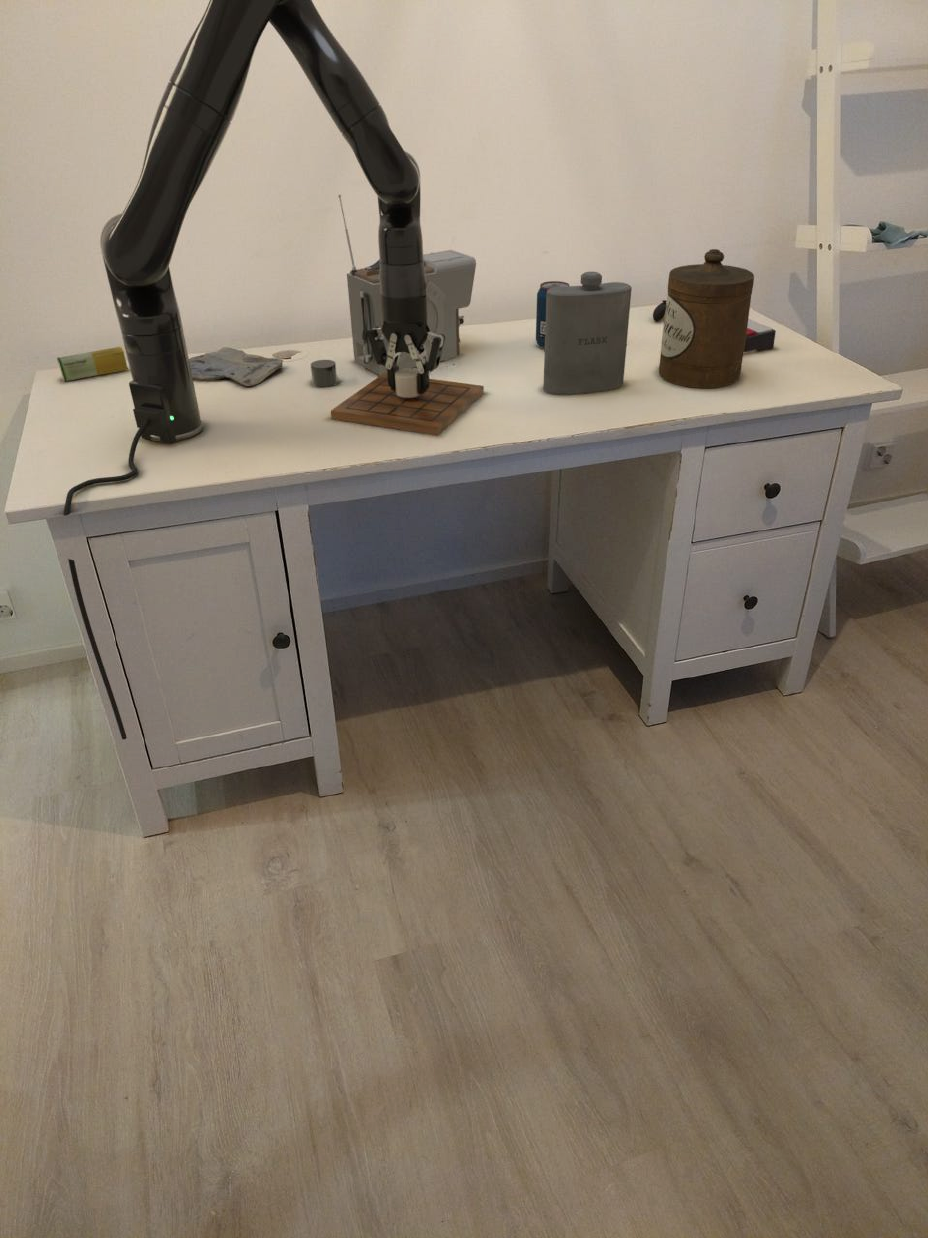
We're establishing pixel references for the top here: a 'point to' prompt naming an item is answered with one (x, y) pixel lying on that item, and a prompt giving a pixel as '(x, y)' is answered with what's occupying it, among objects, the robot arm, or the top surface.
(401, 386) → the ivory stone
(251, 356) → the fossil rock
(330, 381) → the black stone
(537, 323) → the soda can
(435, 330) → the portable television
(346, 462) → the top surface
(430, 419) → the board
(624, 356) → the flask
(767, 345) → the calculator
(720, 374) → the wooden container
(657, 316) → the dark grey oval piece
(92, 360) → the medication box
